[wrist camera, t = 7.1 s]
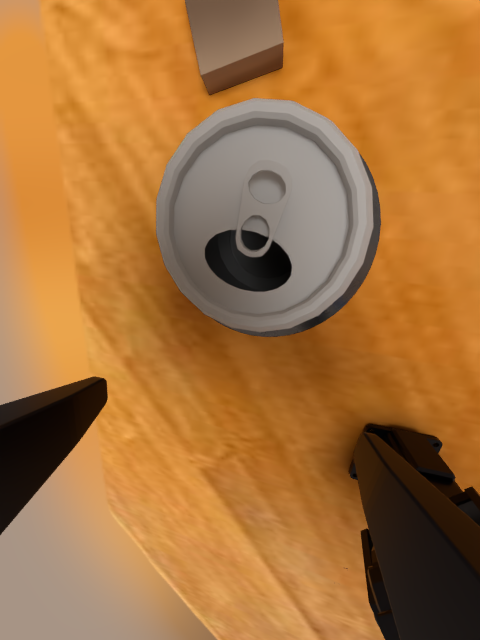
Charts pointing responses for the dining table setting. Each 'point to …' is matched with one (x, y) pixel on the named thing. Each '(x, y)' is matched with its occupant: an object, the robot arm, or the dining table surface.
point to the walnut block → (235, 40)
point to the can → (264, 215)
